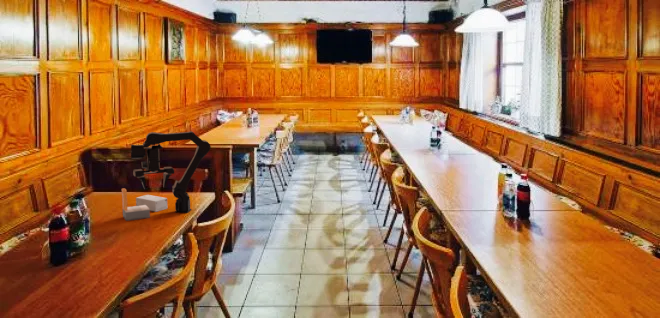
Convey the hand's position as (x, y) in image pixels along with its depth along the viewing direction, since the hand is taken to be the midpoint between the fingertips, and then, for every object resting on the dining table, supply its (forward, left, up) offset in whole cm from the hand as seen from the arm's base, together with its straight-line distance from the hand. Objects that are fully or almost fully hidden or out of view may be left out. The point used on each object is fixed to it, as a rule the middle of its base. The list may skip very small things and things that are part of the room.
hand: (154, 188), depth 249 cm
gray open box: (+6, +8, -13) cm, 16 cm away
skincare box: (+13, -13, -10) cm, 21 cm away
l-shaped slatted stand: (+6, +8, -9) cm, 14 cm away
